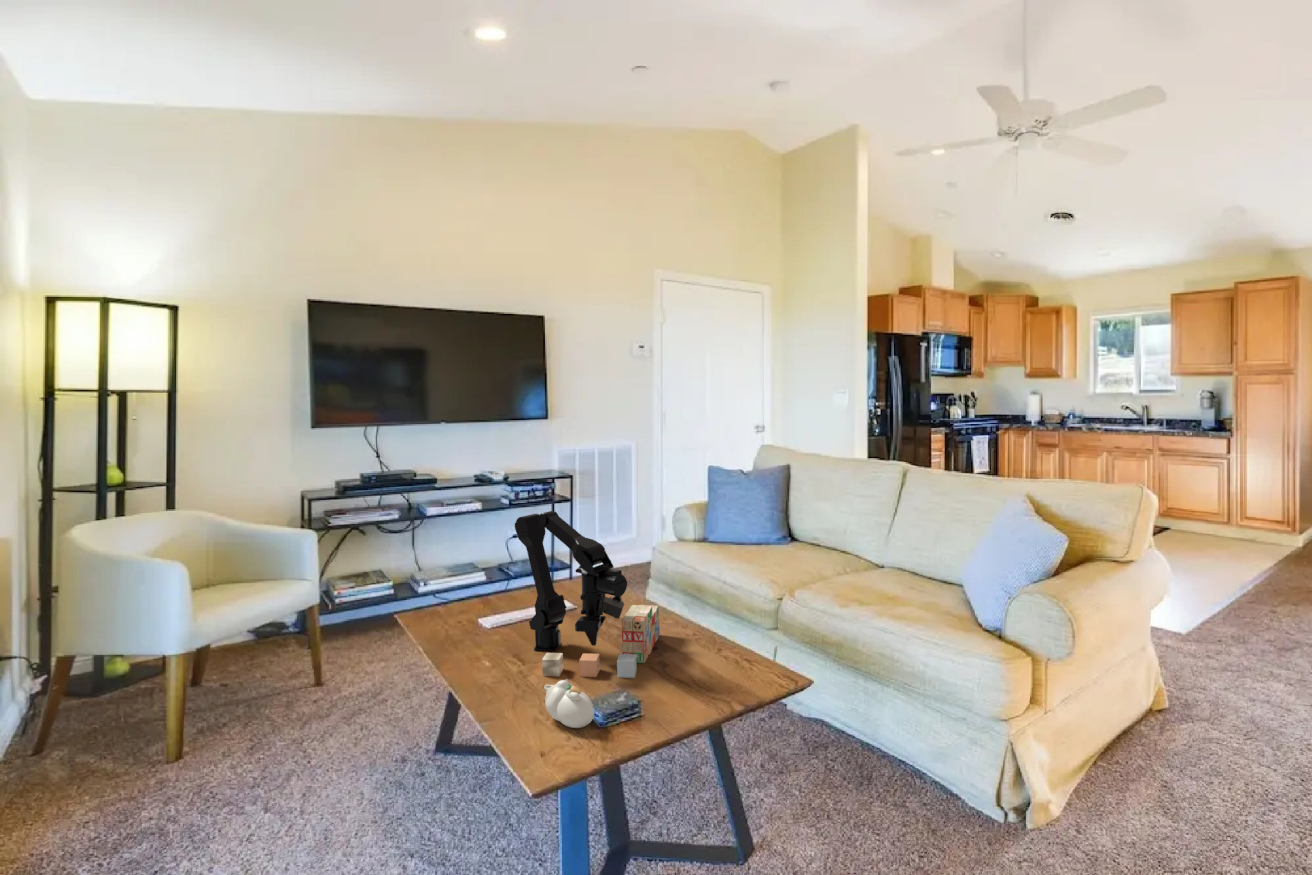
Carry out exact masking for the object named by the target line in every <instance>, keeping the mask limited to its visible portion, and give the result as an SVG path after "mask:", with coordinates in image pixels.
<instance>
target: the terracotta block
mask: <svg viewBox="0 0 1312 875" xmlns="http://www.w3.org/2000/svg"><path fill="white" fill-rule="evenodd" d="M600 661H601V660H600V653H585V652H584V653H582V655H581V657H580V658H579V660H578V662H579V678H580V677H585V678H597V677H598V675H599V672H600V670H601V669H600V668H601V667H600Z"/></svg>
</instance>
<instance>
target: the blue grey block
mask: <svg viewBox="0 0 1312 875" xmlns="http://www.w3.org/2000/svg"><path fill="white" fill-rule="evenodd" d="M616 670H617V671H616V673H617V674H616V675H617V678H623V679H624V678H627V679H628V678H629V679H630V678H631V679H634V678H636V674H637V672H638V671H637V670H638V669H637V663H636V654H622V653H619V654H618V658H617V660H616Z"/></svg>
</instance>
